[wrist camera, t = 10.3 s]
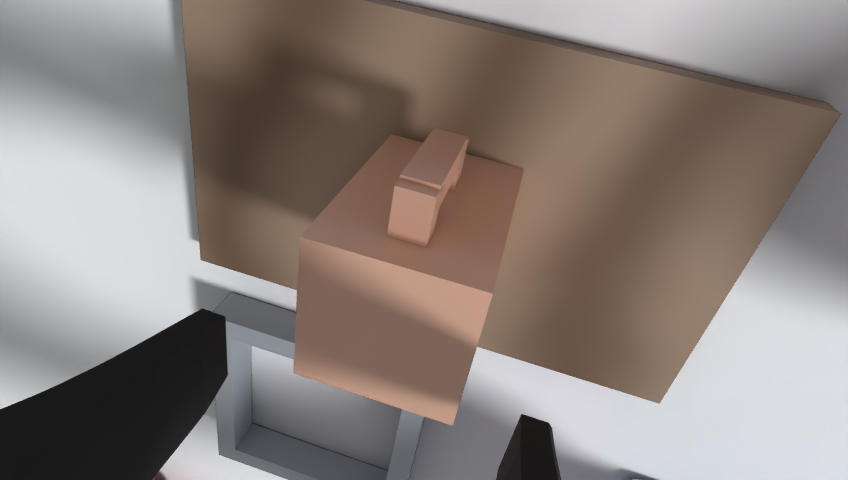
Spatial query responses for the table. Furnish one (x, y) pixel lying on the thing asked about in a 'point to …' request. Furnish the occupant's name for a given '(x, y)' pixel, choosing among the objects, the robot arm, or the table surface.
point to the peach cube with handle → (404, 274)
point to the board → (509, 144)
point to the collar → (271, 451)
